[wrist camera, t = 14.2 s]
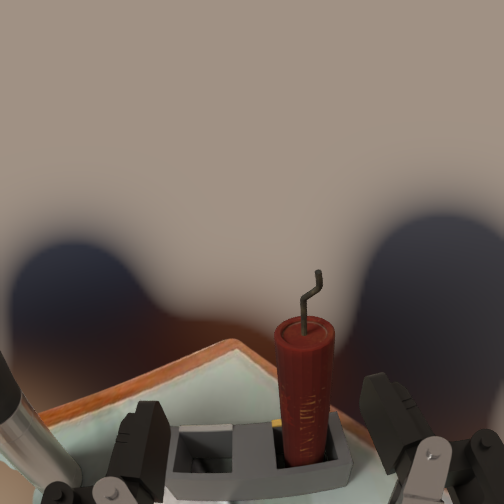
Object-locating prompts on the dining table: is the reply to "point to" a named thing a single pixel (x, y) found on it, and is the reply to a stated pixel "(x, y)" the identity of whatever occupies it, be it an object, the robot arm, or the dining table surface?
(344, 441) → the socket block
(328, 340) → the firecracker
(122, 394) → the dining table surface
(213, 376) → the dining table surface
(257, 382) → the dining table surface
